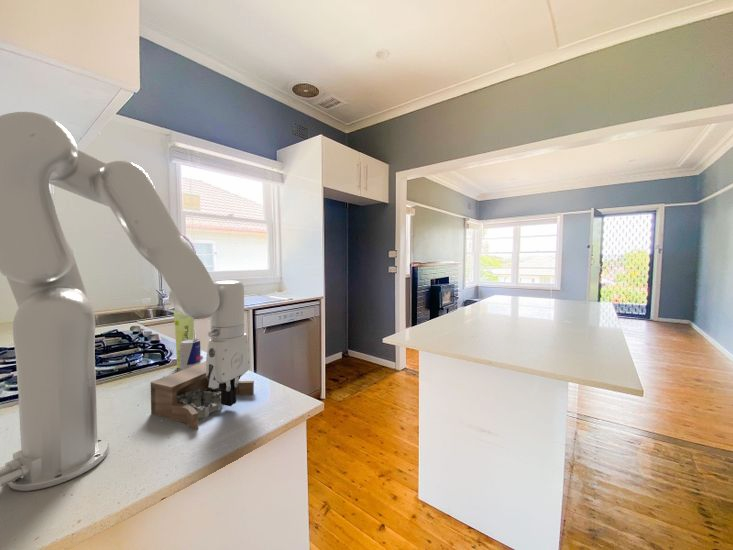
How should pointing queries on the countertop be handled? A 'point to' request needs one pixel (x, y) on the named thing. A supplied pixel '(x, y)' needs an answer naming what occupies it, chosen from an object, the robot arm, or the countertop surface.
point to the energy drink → (189, 353)
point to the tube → (182, 330)
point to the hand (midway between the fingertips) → (228, 403)
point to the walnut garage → (183, 382)
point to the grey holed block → (195, 401)
